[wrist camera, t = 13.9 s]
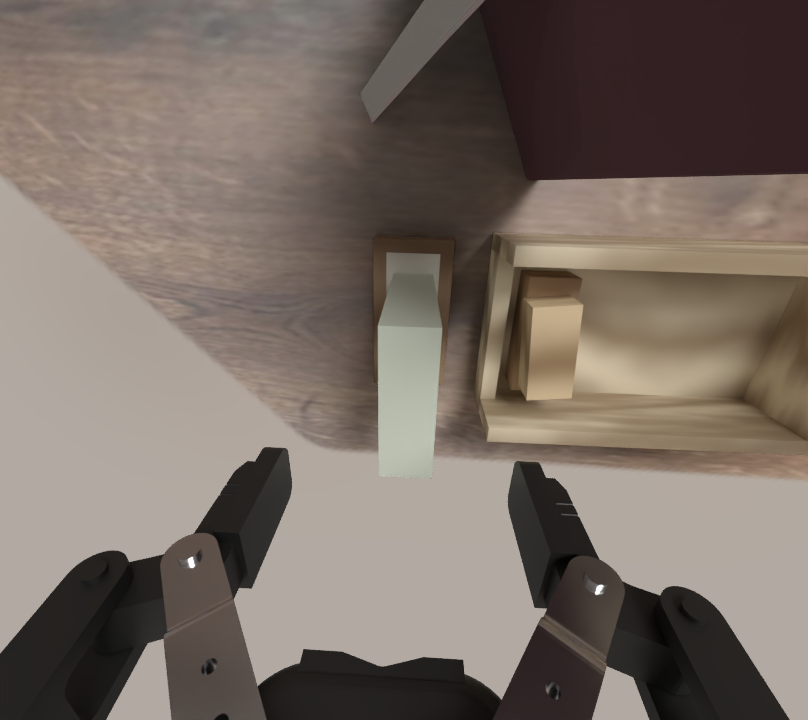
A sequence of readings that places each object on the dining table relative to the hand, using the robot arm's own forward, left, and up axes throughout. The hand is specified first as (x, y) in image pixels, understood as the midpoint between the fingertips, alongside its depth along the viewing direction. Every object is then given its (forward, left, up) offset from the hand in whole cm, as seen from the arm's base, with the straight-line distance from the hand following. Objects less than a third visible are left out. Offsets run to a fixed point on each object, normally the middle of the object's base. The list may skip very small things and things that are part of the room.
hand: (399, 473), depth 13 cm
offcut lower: (+1, +10, -18) cm, 21 cm away
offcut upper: (+1, +10, -16) cm, 19 cm away
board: (0, 0, -20) cm, 20 cm away
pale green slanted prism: (+1, 0, -18) cm, 18 cm away
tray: (+1, +18, -20) cm, 27 cm away
